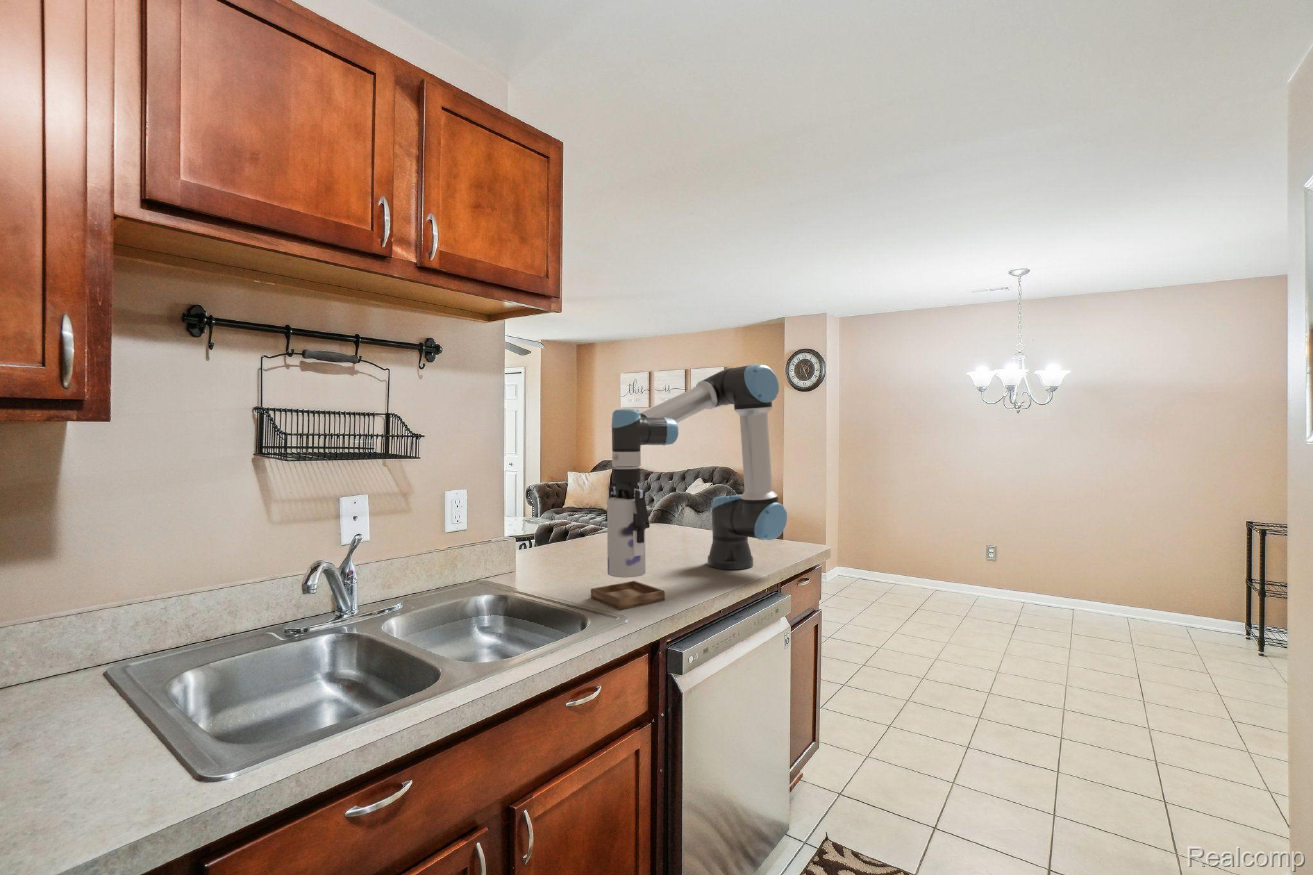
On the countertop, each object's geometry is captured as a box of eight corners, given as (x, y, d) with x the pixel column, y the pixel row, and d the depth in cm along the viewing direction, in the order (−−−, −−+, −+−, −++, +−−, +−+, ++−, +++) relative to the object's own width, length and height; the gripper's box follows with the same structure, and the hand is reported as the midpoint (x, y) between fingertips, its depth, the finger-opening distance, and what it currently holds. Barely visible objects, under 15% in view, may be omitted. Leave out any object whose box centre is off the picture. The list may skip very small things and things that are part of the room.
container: (629, 580, 150) (628, 500, 150) (599, 574, 156) (599, 498, 156) (653, 572, 158) (652, 497, 158) (624, 568, 164) (624, 495, 164)
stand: (634, 589, 167) (634, 580, 167) (664, 600, 156) (664, 590, 156) (591, 598, 159) (590, 588, 159) (619, 610, 148) (619, 599, 148)
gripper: (592, 466, 164) (592, 547, 164) (639, 470, 146) (639, 561, 146) (615, 465, 169) (615, 544, 169) (663, 469, 151) (664, 557, 151)
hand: (626, 552), depth 157 cm, fingers closed on container, 10 cm apart
